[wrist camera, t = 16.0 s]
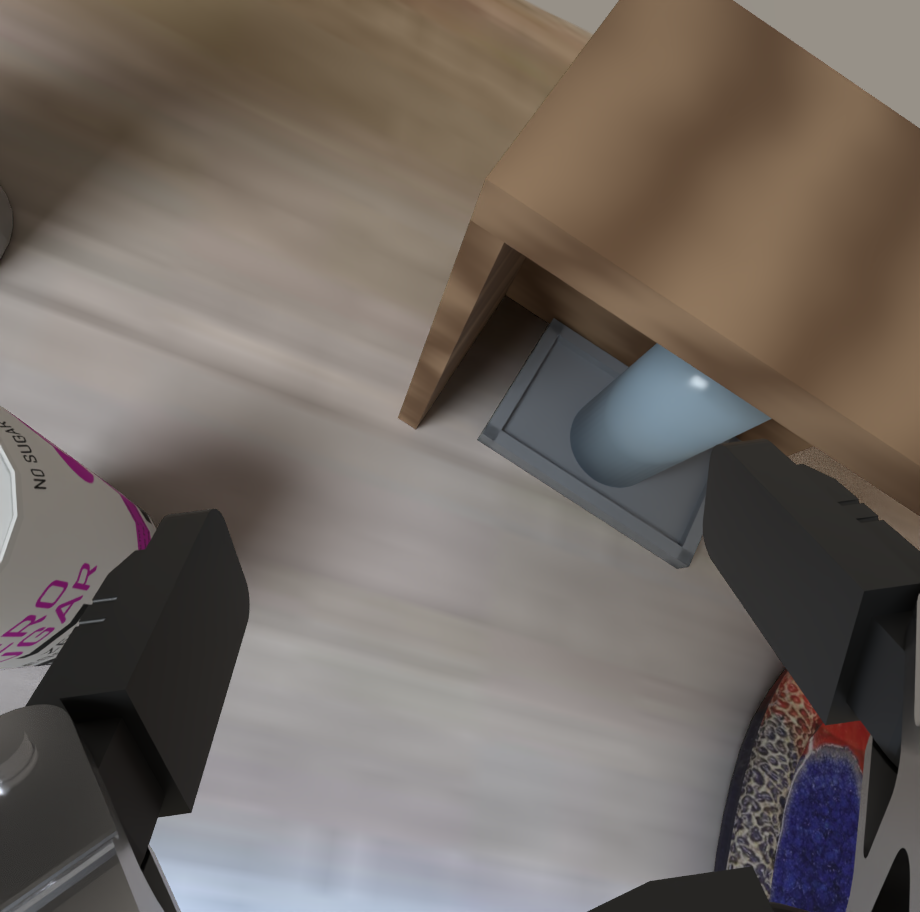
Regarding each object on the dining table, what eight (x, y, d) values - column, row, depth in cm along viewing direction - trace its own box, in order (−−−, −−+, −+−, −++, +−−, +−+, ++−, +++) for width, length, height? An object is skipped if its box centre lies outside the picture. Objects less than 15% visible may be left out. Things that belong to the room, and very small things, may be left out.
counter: (397, 417, 36) (485, 179, 17) (498, 271, 40) (657, -51, 21) (703, 613, 36) (1108, 590, 18) (770, 449, 40) (1157, 291, 22)
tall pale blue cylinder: (554, 453, 36) (660, 371, 25) (595, 381, 38) (711, 274, 27) (634, 505, 37) (775, 447, 25) (670, 430, 38) (817, 345, 27)
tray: (477, 439, 36) (482, 433, 35) (547, 327, 39) (553, 317, 38) (677, 568, 37) (688, 566, 36) (730, 447, 40) (742, 441, 39)
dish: (616, 1198, 28) (676, 1312, 23) (745, 558, 38) (806, 547, 33) (909, 1289, 29) (1021, 1413, 25) (959, 649, 40) (1045, 651, 35)
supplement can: (32, 467, 31) (-209, 324, 17) (196, 521, 32) (100, 430, 18) (-60, 630, 28) (-438, 625, 14) (122, 684, 29) (-61, 731, 15)
